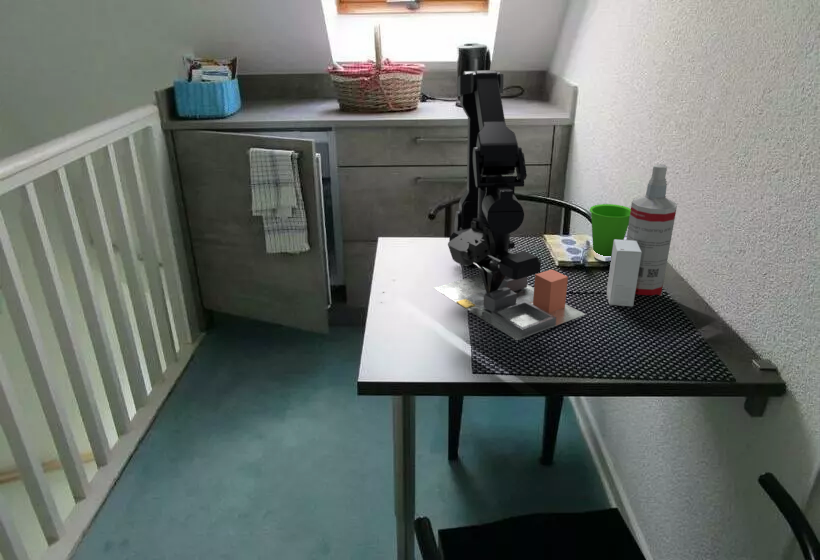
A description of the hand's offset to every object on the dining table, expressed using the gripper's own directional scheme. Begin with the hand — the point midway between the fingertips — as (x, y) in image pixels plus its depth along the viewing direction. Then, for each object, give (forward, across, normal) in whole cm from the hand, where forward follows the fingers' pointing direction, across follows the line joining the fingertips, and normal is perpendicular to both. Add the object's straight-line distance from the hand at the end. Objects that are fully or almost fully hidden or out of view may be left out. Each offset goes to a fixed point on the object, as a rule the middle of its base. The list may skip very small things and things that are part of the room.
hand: (490, 295), depth 108 cm
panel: (+3, +1, +3) cm, 4 cm away
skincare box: (+3, +12, +21) cm, 24 cm away
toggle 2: (+1, +3, 0) cm, 3 cm away
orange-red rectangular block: (+2, +7, +8) cm, 11 cm away
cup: (+3, -5, +37) cm, 38 cm away
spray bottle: (+3, +11, +28) cm, 31 cm away
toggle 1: (+1, -2, +7) cm, 8 cm away
